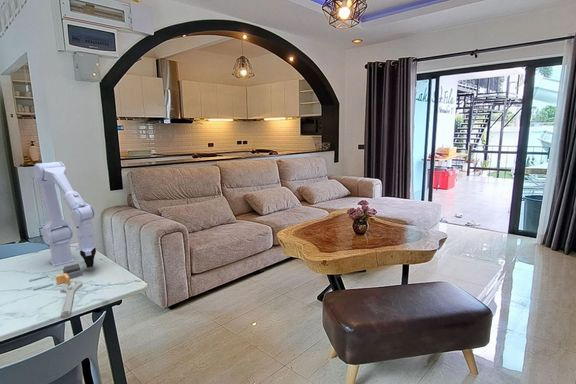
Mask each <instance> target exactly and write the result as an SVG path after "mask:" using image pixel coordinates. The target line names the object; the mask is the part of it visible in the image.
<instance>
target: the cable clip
mask: <svg viewBox="0 0 576 384" xmlns="http://www.w3.org/2000/svg"><path fill="white" fill-rule="evenodd" d="M62 271H63V273H62V274H65V270H64V267H63V268H62ZM67 275H68V276H69V278H70V280H72V279H76V278H79V277H83V270H82V269H80V270H79V271H75V272H72V273H68V274H67Z"/></svg>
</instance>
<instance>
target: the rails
mask: <svg viewBox="0 0 576 384" xmlns="http://www.w3.org/2000/svg"><path fill="white" fill-rule="evenodd" d="M46 278H49V275H48V274H47V275H46V274H45V275H43V276H38V277H35V278H32V279H31V278H30V279H29V280H28V281H29V283H31V282H35V281H38V280H42V279H46ZM53 286H54V282H53V283H49V284H46V285H42V286H38V287H34V288H33V289H32V290H33V291H35V292H36V291H38V290H42V289H45V288H48V287H53Z"/></svg>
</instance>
